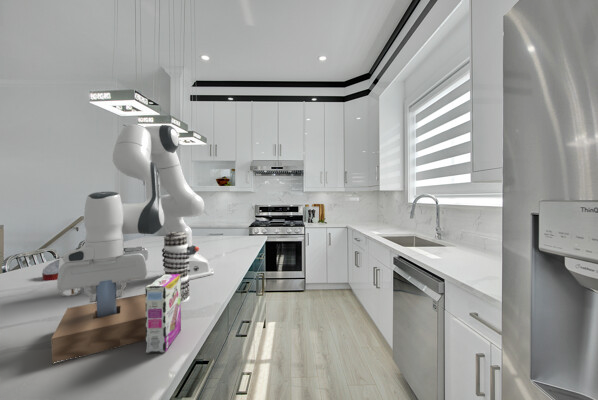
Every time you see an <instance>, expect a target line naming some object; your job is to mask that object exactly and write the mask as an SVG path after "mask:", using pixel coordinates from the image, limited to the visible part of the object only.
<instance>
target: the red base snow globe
mask: <svg viewBox="0 0 598 400" xmlns="http://www.w3.org/2000/svg"><path fill="white" fill-rule="evenodd" d="M58 273H59V259H57V260H54V261H52V262H50V263H49V264H48V265H46V266H44V268H43V269H42V273H41V275H42V278H41V279H42V281H47V282H48V281H57V279H58Z"/></svg>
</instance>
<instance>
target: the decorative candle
mask: <svg viewBox="0 0 598 400" xmlns="http://www.w3.org/2000/svg"><path fill="white" fill-rule="evenodd" d="M187 236H188V235H186V234H185V233H184V232H182V231H176V232H169V233H167V234H166V233H165V236H163V241H164V245H163V248H162V249H161V252H162V253H161V257H163V258H162V262H163V263H162V267H163V271H164V275H166V274H181V304H183V303H186V302H188V301H189V300H190V288H189V286H190V283H189V282H190V280H189V279H188V274H187V272H188V271H187V268H189V266H188V265H187V264H189V262H188V261H187V259H188V258H189V256H187V255H188V254H189V252H187V249H189V248H190V247H188V244H187Z"/></svg>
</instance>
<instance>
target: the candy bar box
mask: <svg viewBox="0 0 598 400" xmlns="http://www.w3.org/2000/svg"><path fill="white" fill-rule="evenodd" d="M144 289H145V290H144V291H145V294H146V340H145V353H146V354H158V353H159V354H161V353H162V354H163V353H166V352H167V351H168V350H169V348H170V346H171V345H172V343H174V341H175V339H176V338H177V336H178V335H179V334H180V333H181V331H182V312H181V311H182V310H181V309H182V305H181V304H182V303H181V274H166V275H165V274H163V275H161V276H160V277H159V278H157V279H155V280H154V281H152V282H151V283H150V284H148V285H147V286H145V288H144Z"/></svg>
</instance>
